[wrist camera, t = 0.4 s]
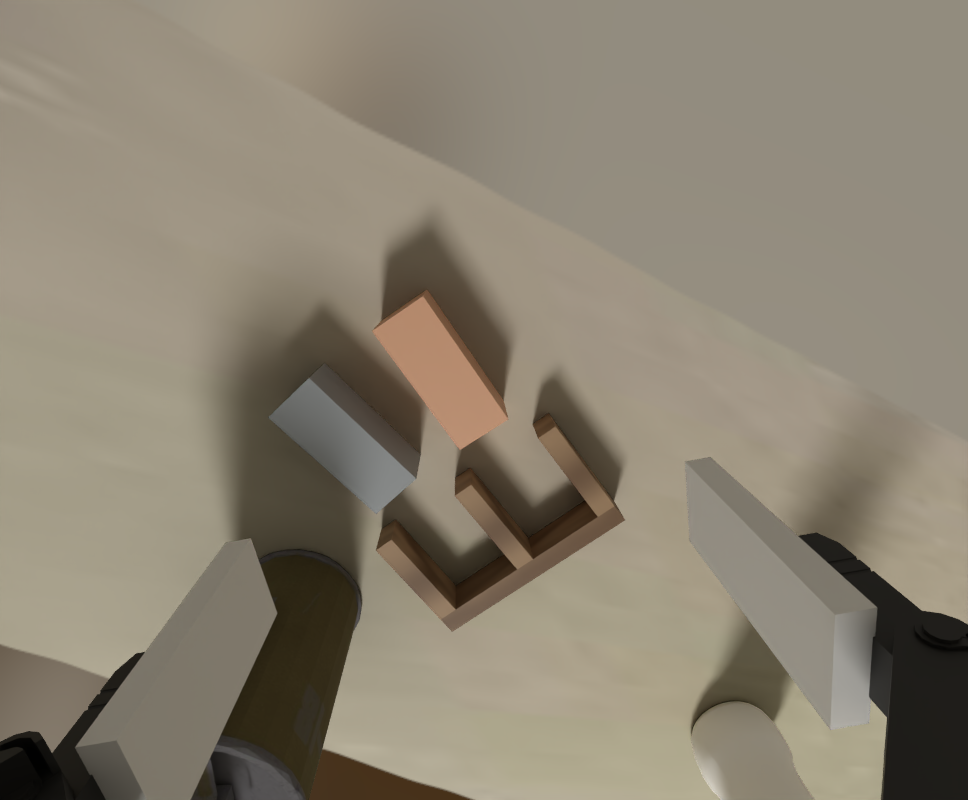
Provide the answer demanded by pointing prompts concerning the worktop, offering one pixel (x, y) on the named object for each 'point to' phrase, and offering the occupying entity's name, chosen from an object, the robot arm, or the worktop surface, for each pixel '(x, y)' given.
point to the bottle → (745, 755)
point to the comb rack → (504, 538)
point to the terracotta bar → (441, 369)
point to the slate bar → (348, 438)
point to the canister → (287, 684)
